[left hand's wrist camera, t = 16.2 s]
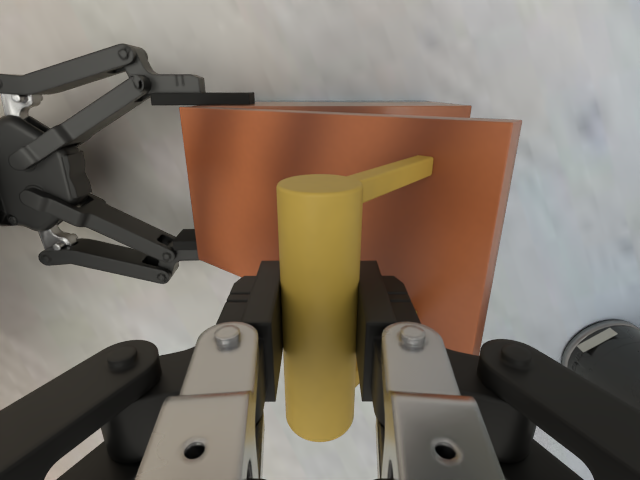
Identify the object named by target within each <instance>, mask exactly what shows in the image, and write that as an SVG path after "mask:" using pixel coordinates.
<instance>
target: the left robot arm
mask: <svg viewBox="0 0 640 480" xmlns="http://www.w3.org/2000/svg"><path fill="white" fill-rule="evenodd" d="M282 352H283V331H282V307H281V284H280V261H261V263H260V266H259V269H258V272H257V275H256V276H243V277H242V278H241V279H239V280H238V281H237V282H236V283H234V285H233V287H232V290H231V292H230V295H229V296H228V299H227V302H226V303H225V305H224V308H223V310H222V312H221V314H220V317H219V319H218V321H217V323H216V325H214V326H212V327H210V328H208V329H207V330H205V331H204V332H203V333H202V334H201V335H200V336H199V338H198V340H197V342H196V346H195V347H193V348H190V349H187V350H184V351H180V352H176V353H171V354H166V355H161V356H159V354H158V349H157V347H156V346H155V345H154V344H153V343H151V342H148V341H144V340H130V341H125V342H121V343H117V344H114V345H112V346H110V347H107V348H105V349H104V350H102V351H100V352H98V353H97V354H95V355H93V356H92V357H90V358H88V359H87V360H85V361H83V362H82V363H80V364H78V365H77V366H75V367H73V368H72V369H70V370H68V371H66V372H65V373H63V374H61V375H60V376H58V377H56V378H55V379H53V380H51V381H50V382H48V383H46V384H45V385H43V386H41V387H39V388H38V389H36V390H34V391H33V392H31V393H29V394H28V395H26V396H24V397H23V398H21V399H19V400H18V401H16V402H14V403H13V404H11V405H9V406H7V407H6V408H4V409H2V410H1V411H0V480H44V478H45V476H46V474H47V473H48V471H49V470H50V468H51V467H52V466H53V465H54V464H55V463H56V462H57V461H58V460H59V459H60V458H62V457H63V456H64V455H66V454H67V453H68V452H70V451H71V450H72V449H73V448H75V447H76V446H77V445H79V444H80V443H81V442H83V441H84V440H85V439H86V438H88V437H89V436H90V435H92V434H93V433H94V432H96V431H97V430H98V429H99V428H101V430H102V434H103V437H104V442H102V443H101V444H100V445H99V446H98V447H96V448H95V449H94V450H93V451H91V452H90V453H89V454H88V455H86V456H85V457H84V458H83V459H81V460H80V461H79V462H78V463H76V464H75V465H74V466H73V467H71V468H70V469H69V470H68V471H66V472H65V473H64V474H63V475H62V476H60V477H59V478H58V479H57V480H265V479H262V472H263V448H264V413H263V409H264V403H265V402H275V401H276V394H277V387H278V380H279V373H280V366H281V359H282ZM356 359H357V367H358V374H359V382H360V389H361V397H362V401H373V406H374V412H375V415H376V447H377V471H378V479H375V480H583V479H582V478H581V477H580V476H578V475H577V474H576V473H575V472H574V471H572V470H571V469H570V468H569V467H567V466H566V465H565V464H564V463H562V462H561V461H560V460H559V459H557V458H556V457H555V456H554V455H552V454H551V453H550V452H549V451H547V450H546V449H545V448H544V447H542V446H541V445H540V444H539V443H538V442H536V441H535V440H534V439H533V436H534V433H535V429H536V425H537V426H538V427H539V428H541V429H542V430H543V431H544V432H546V433H547V434H548V435H550V436H551V437H552V438H554V439H555V440H556V441H557V442H559V443H560V444H561V445H563V446H564V447H565V448H567V449H568V450H569V451H570V452H572V453H573V454H574V455H576V456H577V457H578V458H579V459H581V460H582V461H583V462H584V463H585V465H586V466H587V467H588V468H589V470H590V471H591V473H592V475H593V478H594V480H640V329H639V328H637V327H636V326H635V325H633V324H631V323H629V322H626V321H622V320H608V321H603V322H599V323H596V324H593V325H591V326H589V327H587V328H586V329H584V330H582V331H581V332H580V333H578V334H577V335H576V336H575V337H574V338H573V339H572V340H571V341H570V343H569V344H568V345H567V347H566V349H565V351H564V353H563V357H562V364H560V363H558V362H557V361H555V360H553V359H552V358H550V357H548V356H547V355H545V354H543V353H542V352H540V351H538V350H536V349H535V348H533V347H531V346H529V345H526V344H524V343H521V342H518V341H514V340H508V339H495V340H491V341H488V342H486V343H484V344H483V345H482V347H481V350H480V356H477V355H472V354H467V353H462V352H457V351H453V350H450V349H447V348H445V345H444V342H443V339H442V337H441V336H440V335H439V334H438V333H437V332H436V331H435V330H433V329H432V328H430V327H428V326H426V325H423V324H421V322H420V320H419V317H418V315H417V313H416V311H415V308H414V306H413V304H412V302H411V299H410V297H409V294H408V292H407V290H406V287H405V285H404V283H403V282H401V281H400V280H399V279H397V278H396V277H395V276H382V275H381V272H380V269H379V266H378V263H377V261H360V278H359V283H358V304H357V328H356Z"/></svg>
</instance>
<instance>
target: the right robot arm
mask: <svg viewBox="0 0 640 480" xmlns="http://www.w3.org/2000/svg"><path fill="white" fill-rule="evenodd" d="M125 71H126V72H127V74H128V76H129V79H127V80H126V81H124V82H123V83H121V84H120V85H118V86H117V87H115V88H114V89H112V90H111V91H109V92H108V93H106V94H105V95H103V96H102V97H100V98H99V99H98V100H96V101H95V102H93V103H92V104H90V105H89V106H87V107H86V108H84V109H83V110H81V111H80V112H78V113H77V114H75V115H74V116H72V117H71V118H69V119H68V120H66V121H65V122H63V123H62V124H60V125H57V126H55V127H53V128H51V129H50V128H49V127H47V126H45V125H44V124H42V123H40V122H39V121H37V120H36V119H34V118H32V117H30V116H29V115H28V112H29V109H30V108H32V107H34V106H38V105H39V104H40V103H41V101H42V100H43V97H42V95H45V94H55V93H59V92H62V91H66V90H69V89H72V88H75V87H78V86H81V85H84V84H88V83H91V82H94V81H97V80H100V79H103V78H106V77H110V76H113V75H116V74H119V73H122V72H125ZM0 94H1V99H2V104H3V108H4V113H5V116H3V117H1V118H0V226H14V225H20V226H25V227H27V228H30V229H32V230H35V231H38V232H39V235H40V238H41V240H42V243H43V246H44V248H45V250H44V251H42V252H41V253H40V254H39V260H40V262H41V263H43V264H44V265H49V266H50V265H62V264H74V265H79V266H83V267H88V268H92V269H97V270H101V271H106V272H110V273H115V274H119V275H124V276H129V277H133V278H138V279H142V280H147V281H151V282H156V283H160V284H165V283H167V282H168V281H169V280H170V278H171V277H172V276H173V274H174V273H175V271H176V270H177V268H178V266H179V263H178V262H179V261H186V260H199V259H198V251H197V243H196V235H195V229H183V230H182V231H181V232H180V233H179V235H178V236H177V237H175V236H173V235H171V234H168V233H166V232H164V231H162V230H160V229H158V228H156V227H154V226H151V225H149V224H147V223H145V222H143V221H141V220H139V219H137V218H134V217H132V216H130V215H128V214H126V213H124V212H122V211H120V210H117V209H115V208H113V207H111V206H109V205H107V204H106V202H105V201H104V200H103V199H101V198H99V197H97V196H94V195H92V194H90V193H89V192H92V191H91V186H90V182H89V180H88V178H87V176H86V174H85V171H84V170H85V160H84V155H83V151H79V150H78V148H77V147H78V146H79V145H81V144H82V143H84V142H85V141H87V140H88V139H90V138H91V137H92V135H94V134H95V133H97V132H98V131H100V130H101V129H103V128H104V127H106V126H107V125H109V124H110V123H112V122H113V121H115V120H116V119H118V118H119V117H121V116H123V115H124V114H126V113H127V112H129V111H130V110H132V109H133V108H135V107H136V106H138V105H139V104H141V103H142V102H144V101H145V100H147V99H148V98H150V97H151V103H152V105H251V104H254V103H255V100H254V93H205V84H204V78H202V77H200V76H197V75H191V74H183V75H181V74H177V75H175V74H157V73H155V72H154V71H153V70H152V68H151V66H150V64H149V62H148V56H147V53H146V52H145V50H143V49H142V48H139V47H135V46H131V45H127V44H118V45H115V46H112V47H109V48H106V49H102V50H99V51H96V52H93V53H90V54H87V55H84V56H81V57H78V58H75V59H72V60H69V61H65V62H62V63H59V64H56V65H53V66H50V67H47V68H44V69H41V70H38V71H35V72H31V73H28V74H25V75H14V74H0ZM62 221H65V222H67V223H70V224H72V225H74V226H77V227H87V228H89V229H92V230H94V231H96V232H98V233H100V234H103V235H105V236H107V237H109V238H111V239H114V240H116V241H118V242H120V243H122V244H125V245H127V246H129V247H131V248H133V249H131V248H127V247H123V246H118V245H114V244H110V243H105V242H101V241H97V240H92V239H83V238H82V239H77V235H76V234H74V233H72V234H70V233H65V232H63V231H61V230H60V229H59V227H58V225H59V224H60V223H61V222H62Z"/></svg>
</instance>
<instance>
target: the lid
mask: <svg viewBox="0 0 640 480" xmlns="http://www.w3.org/2000/svg"><path fill="white" fill-rule="evenodd" d="M179 109H180V117H181V125H182V133H183V141H184V149H185V157H186V164H187V172H188V180H189V188H190V196H191V204H192V212H193V219H194V227H195V235H196V243H197V251H198V259H199V260H202V261H204V262H206V263H209V264H211V265H214V266H216V267H218V268H221V269H223V270H225V271H228V272H230V273H233V274H235V275H237V276H240V277H243V276H256V275H257V272H258V269H259V266H260V263H261V261H280V284H281V307H282V331H283V354H284V378H285V401H286V418H287V422H288V424H289V426H290V427H291V429H292V430H293V431H294V432H295V433H296V434H297V435H298V436H300V437H302V438H304V439H306V440H309V441H314V442H326V441H331V440H334V439H336V438H338V437H340V436H342V435H343V434H344V433H345V432H346V431H347V430H348V429H349V427H350V426H351V424H352V421H353V417H354V397H355V387H356V386H357V385H358V384H359V383H360V382H359V374H358V367H357V359H356V328H357V304H358V283H359V278H360V261H377V263H378V266H379V269H380V272H381V275H382V276H395V277H396V278H397V279H399V280H400V281H401V282H403V283H404V285H405V287H406V290H407V292H408V294H409V297H410V299H411V302H412V304H413V306H414V308H415V311H416V313H417V315H418V317H419V320H420V322H421V324H423V325H426V326H428V327H430V328H432V329H433V330H435V331H436V332H437V333H438V334H439V335H440V336H441V337H442V339H443V342H444V345H445V348H447V349H450V350H453V351H457V352H462V353H467V354H472V355H477V356H479V352H480V347H481V341H482V336H483V331H484V325H485V320H486V314H487V309H488V303H489V298H490V293H491V287H492V282H493V276H494V271H495V266H496V260H497V255H498V249H499V244H500V238H501V233H502V228H503V222H504V217H505V211H506V206H507V201H508V195H509V190H510V184H511V179H512V174H513V168H514V163H515V157H516V152H517V146H518V141H519V136H520V130H521V125H522V120H508V119H484V118H461V117H437V116H413V115H390V114H366V113H343V112H319V111H295V110H272V109H248V108H224V107H201V106H194V107H179Z"/></svg>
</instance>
